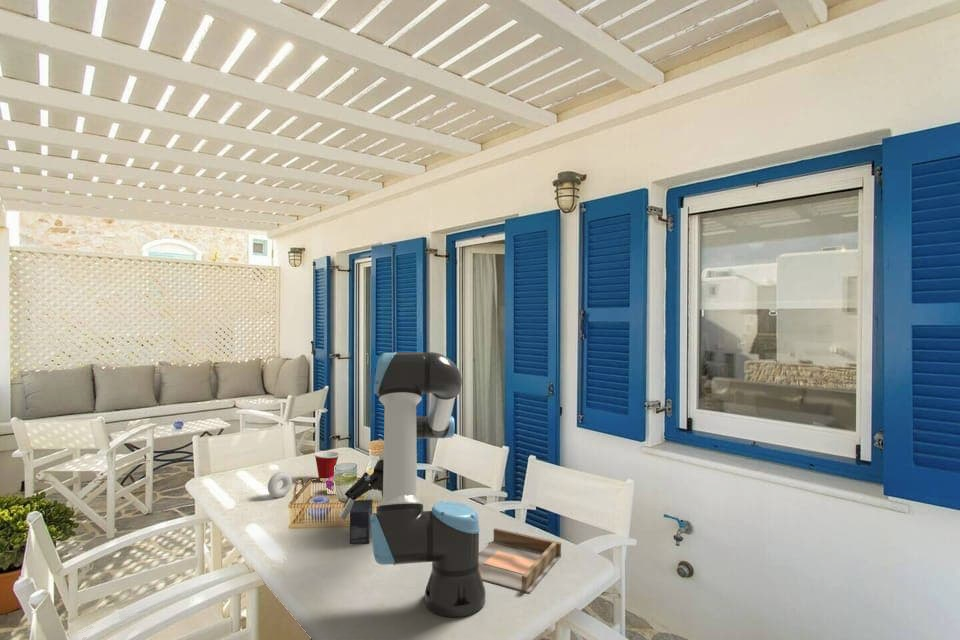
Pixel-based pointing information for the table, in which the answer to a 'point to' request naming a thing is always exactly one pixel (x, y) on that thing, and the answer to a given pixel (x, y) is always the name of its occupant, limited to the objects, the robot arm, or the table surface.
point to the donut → (285, 488)
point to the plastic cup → (326, 463)
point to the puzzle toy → (330, 484)
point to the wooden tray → (517, 560)
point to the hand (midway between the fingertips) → (357, 522)
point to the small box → (360, 522)
